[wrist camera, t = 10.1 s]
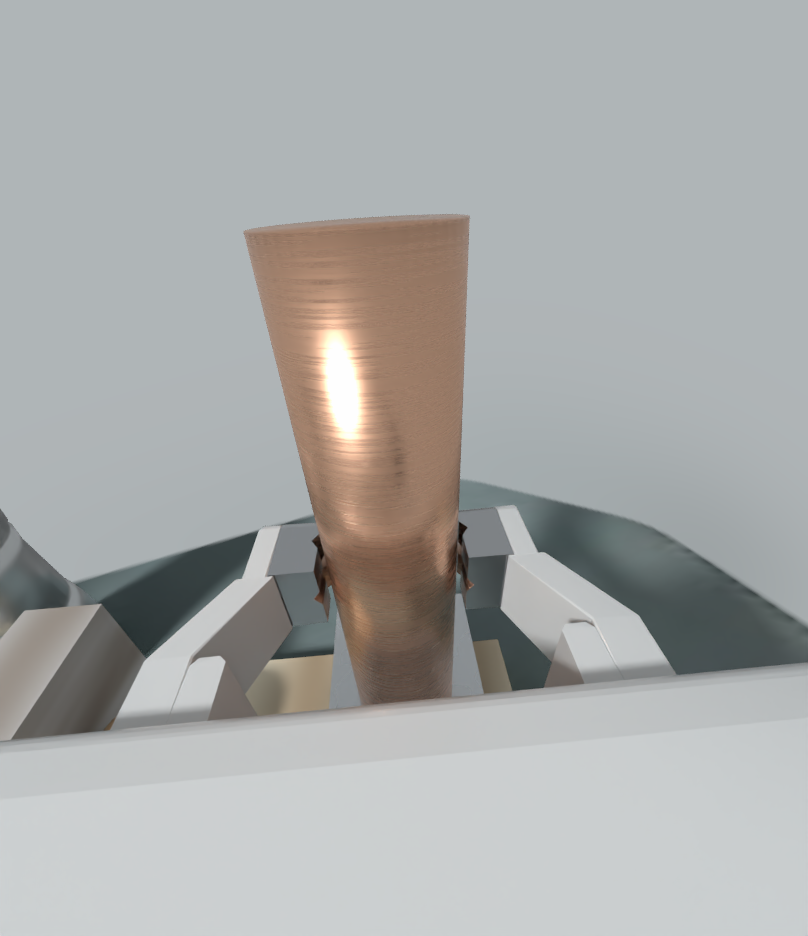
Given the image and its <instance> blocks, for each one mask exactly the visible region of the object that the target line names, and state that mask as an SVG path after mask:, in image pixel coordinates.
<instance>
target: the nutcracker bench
mask: <svg viewBox="0 0 808 936" xmlns="http://www.w3.org/2000/svg"><path fill="white" fill-rule="evenodd" d="M472 643H473V647H474V652H475V656H476V661H477V665H478V669H479V674H480V678H481V683H482V687H483V692H484V694H486V693H497V692H507V691H512V688H511V684H510V681H509V677H508V674H507V670H506V667H505V663H504V660H503V656H502V653H501V649H500V646H499V642H498V639H494V640H484V641H473V642H472ZM333 656H334V654H332V655H322V656H311V657H300V658H289V659H278V660H270V661H269V662H268V663H267V665H266V666H265V667H264V669H263V670H262V672H261V673H260V674H259V676H258V677H257V678H256V680H255V681H254V683H253V684H252V685H251V687H250V688H249V690H248V691H247V692H246V694H245V695H246V697H247V698H248V700H249V702H250V703H251V705H252V707H253V709H254V710H255V712H256V714H257V715H258V716H261V715H272V714H282V713H292V712H302V711H313V710H323V709H329V702H330V690H331V679H332V667H333ZM145 660H146V658H145V656H144V655H143V654H142V653H141V652H140V650H139V649H138V648H137V647H136V645H135V644H134V643H133V642H132V641H131V639H130V638H129V637H128V636H127V634H126V633H125V632H124V631H123V629H122V628H121V627H120V626H119V625H118V623H117V622H116V621H115V620H114V618H113V617H112V616H111V615H110V614H109V612H108V611H107V610H106V609H105V607H104V606H103V605H102V604H94V605H83V606H71V607H60V608H49V609H37V610H26V611H24V612H23V613H22V614H21V615H20V616H19V618H18V619H17V620H16V621H15V622H14V624H13V625H12V626H11V627H10V628H9V629H8V631H7V632H6V633H5V634H4V635H3V637H2V638H1V639H0V741H4V740H15V739H25V738H35V737H46V736H56V735H66V734H77V733H87V732H97V731H103V730H104V729H105V727H106V726H107V725H108V724H109V723H110V722H111V721H112V720H113V719H114V718H115V717H116V716H117V715H118V713H119V711H120V709H121V707H122V705H123V703H124V701H125V699H126V697H127V695H128V693H129V691H130V689H131V687H132V685H133V683H134V681H135V679H136V677H137V675H138V673H139V671H140V669H141V667H142V665H143V663H144V661H145Z"/></svg>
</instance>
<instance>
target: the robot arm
mask: <svg viewBox="0 0 808 936" xmlns="http://www.w3.org/2000/svg"><path fill="white" fill-rule="evenodd" d="M456 570H457V572H458V573H459V574H460V575H461V582H460V587H461V592H462V596H463V600H464V604H465V608H466V609H481V608H496V607H501V610H502V611H503V612H504V613H505V614H506V615H507V616H508V617H509V618H510V619H511V620H512V621H513V622H514V623H515V625H516V626H517V627H518V628H519V629H520V630H521V631H522V632H523V633H524V634H525V635H526V636H527V637H528V638H529V639H530V640H531V641H532V642H533V643H534V644H535V645H536V646H537V647H538V648H539V649H540V651H541V652H542V653H543V654H544V655H545V656H546V657H547V658H548V659H549V660H550V661H551V662H552V664H551V667H550V670H549V673H548V676H547V679H546V682H545V686H544V688H538V689H528V690H517V691H507V692H497V693H486V694H476V695H466V696H455V697H445V698H435V699H424V700H414V701H404V702H394V703H384V704H374V705H363V706H353V707H343V708H333V709H323V710H313V711H302V712H292V713H282V714H272V715H261V716H258V715H257V714H256V712H255V710H254V709H253V707H252V705H251V703H250V702H249V700H248V698H247V697H246V695H245V694H246V692H247V691H248V690H249V688H250V687H251V685H252V684H253V683H254V681H255V680H256V678H257V677H258V676H259V674H260V673H261V672H262V670H263V669H264V667H265V666H266V665H267V663H268V662H269V661H270V659H271V658H272V656H273V655H274V654H275V652H276V651H277V649H278V648H279V647H280V645H281V644H282V643H283V641H284V640H285V638H286V637H287V636H288V634H289V633H290V632H291V630H292V629H293V628H292V626H300V625H308V624H316V623H325V622H328V617H329V608H330V599H331V598H330V594H329V590H328V587H329V586H330V585H331V581H330V576H329V572H328V568H327V564H326V560H325V556H324V552H323V548H322V544H321V540H320V536H319V532H318V528H317V524H316V523H304V524H288V525H279V526H263V527H262V528H261V529H260V530H259V532H258V535H257V538H256V540H255V543H254V546H253V549H252V552H251V555H250V558H249V561H248V563H247V566H246V569H245V572H244V575H243V578H242V579H236V580H235V581H234V582H232V583H231V584H230V585H229V586H228V587H227V588H226V589H225V590H223V591H222V592H221V593H220V594H219V595H218V596H217V597H216V598H215V599H213V600H212V601H211V602H210V603H209V604H208V605H207V606H206V607H204V608H203V609H202V610H201V611H200V612H199V613H198V614H197V615H195V616H194V617H193V618H192V619H191V620H190V621H189V622H188V623H186V624H185V625H184V626H183V627H182V628H181V629H180V630H179V631H177V632H176V633H175V634H174V635H173V636H172V637H171V638H170V639H168V640H167V641H166V642H165V643H164V644H163V645H162V646H161V647H159V648H158V649H157V650H156V651H155V652H154V653H153V654H152V655H150V656H149V657H148V658H147V659H146V660H145V661H144V663H143V665H142V667H141V669H140V671H139V673H138V675H137V677H136V679H135V681H134V683H133V685H132V687H131V689H130V691H129V693H128V695H127V697H126V699H125V701H124V703H123V705H122V707H121V709H120V711H119V713H118V715H117V717H116V719H115V721H114V723H113V725H112V727H111V729H110V730H107V731H97V732H87V733H77V734H66V735H56V736H46V737H35V738H25V739H15V740H4V741H0V936H808V662H805V663H794V664H784V665H774V666H764V667H753V668H743V669H733V670H723V671H712V672H702V673H692V674H682V675H677V674H676V673H675V671H674V670H673V668H672V667H671V665H670V664H669V662H668V660H667V659H666V657H665V656H664V654H663V653H662V651H661V649H660V648H659V646H658V645H657V643H656V642H655V640H654V638H653V637H652V635H651V634H650V632H649V631H648V629H647V628H646V626H645V624H644V623H643V621H642V620H641V618H640V617H639V615H637V614H636V613H634V612H633V611H631V610H630V609H628V608H627V607H625V606H624V605H622V604H621V603H619V602H618V601H616V600H615V599H613V598H612V597H611V596H609V595H608V594H606V593H605V592H603V591H602V590H600V589H599V588H597V587H596V586H594V585H593V584H591V583H590V582H588V581H587V580H585V579H584V578H582V577H581V576H579V575H578V574H576V573H575V572H573V571H572V570H570V569H569V568H567V567H566V566H564V565H563V564H561V563H560V562H559V561H557V560H556V559H554V558H553V557H551V556H550V555H548V554H547V553H545V552H539V553H538V551H537V549H536V546H535V544H534V542H533V540H532V538H531V536H530V534H529V532H528V530H527V528H526V526H525V523H524V521H523V519H522V517H521V515H520V513H519V511H518V509H517V507H516V506H514V505H508V506H498V507H494V508H493V507H491V508H480V509H470V510H459V514H458V541H457V568H456Z"/></svg>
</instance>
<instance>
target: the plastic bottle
mask: <svg viewBox="0 0 808 936" xmlns="http://www.w3.org/2000/svg"><path fill="white" fill-rule="evenodd" d="M94 604H98V603H97V602H96V601H95V600H94V599H93V598H92V597H91V596H89V595H88V594H87V593H86V592H85V591H83V590H82V589H81V588H80V587H78V586H77V585H75V584H74V583H72V582H71V581H68V580H67V579H66V578H64V577H63V576H61V575H60V574H59V573H58V572H57V571H56V570H55V569H54V568H53V567H52V566H51V565H50V564H49V563H48V562H47V561H46V560H44V559H43V558H42V557H41V556H40V555H39V554H38V553H37V552H36V551H35V550H34V549H33V548H32V547H31V546H30V545H28V544H27V543H26V542H25V541H24V540H23V539H22V537H21V536H20V535H19V533H18V532H17V531H16V529H15V528H14V527H13V525H12V524H11V523H9V522H8V519H7V517H6V516H5V515H4V513H3V512H2V511H1V509H0V639H1V638H2V637H3V635H4V634H5V633H6V632H7V631H8V629H9V628H10V627H11V626H12V625H13V624H14V622H15V621H16V620H17V619H18V618H19V616H20V615H21V614H22V613H23V612H24V611H26V610H37V609H49V608H60V607H71V606H83V605H94Z"/></svg>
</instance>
